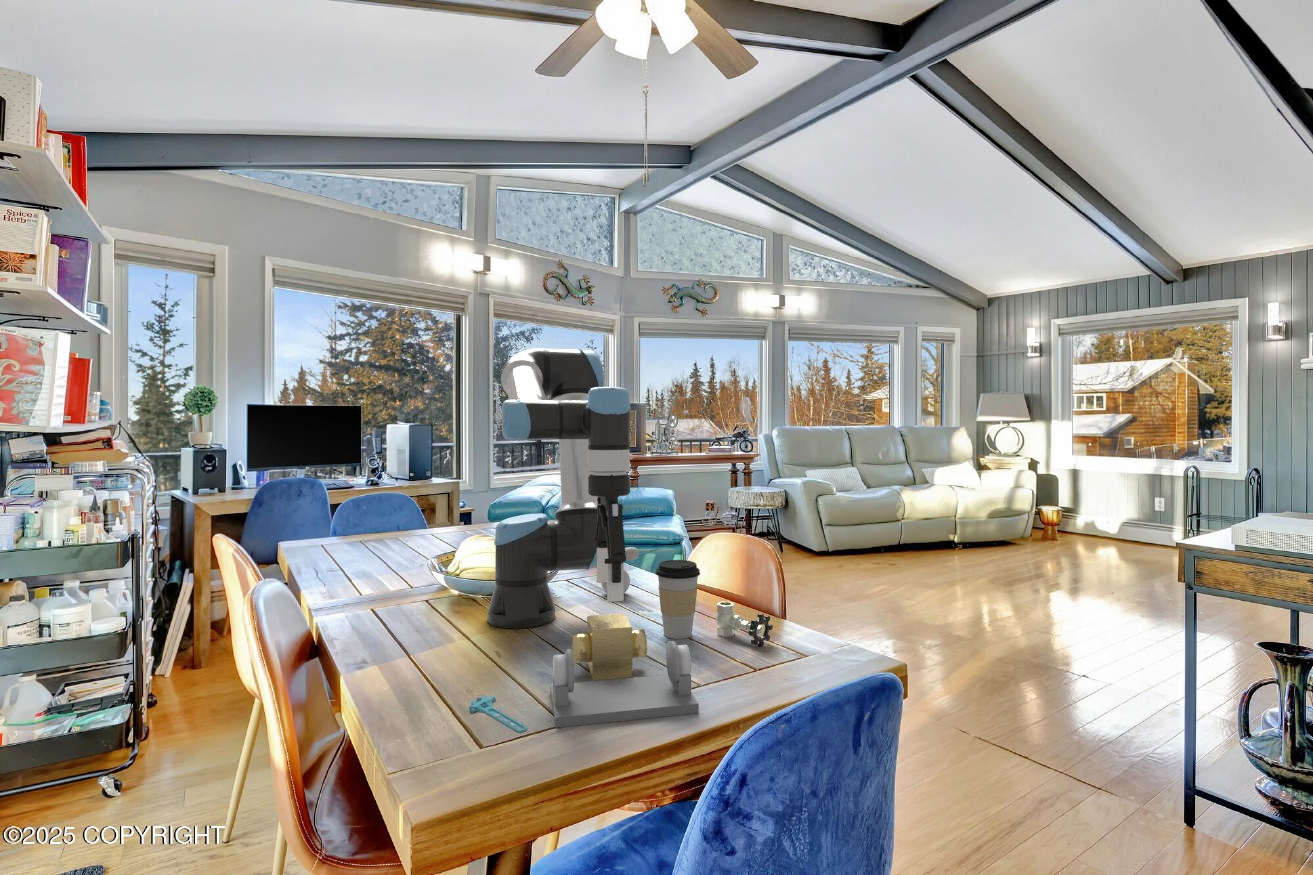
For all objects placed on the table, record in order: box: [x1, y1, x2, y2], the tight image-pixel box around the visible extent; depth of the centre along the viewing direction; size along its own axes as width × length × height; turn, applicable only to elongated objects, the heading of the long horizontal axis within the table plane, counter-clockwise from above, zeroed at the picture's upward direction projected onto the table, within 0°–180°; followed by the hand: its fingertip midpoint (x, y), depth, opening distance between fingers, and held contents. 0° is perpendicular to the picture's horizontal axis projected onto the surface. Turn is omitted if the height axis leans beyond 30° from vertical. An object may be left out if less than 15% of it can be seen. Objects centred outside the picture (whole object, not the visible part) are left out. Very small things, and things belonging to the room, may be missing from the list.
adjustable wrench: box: [468, 695, 528, 733], centre depth 99 cm, size 14×1×5 cm
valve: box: [715, 601, 774, 648], centre depth 134 cm, size 7×7×12 cm
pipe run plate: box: [550, 640, 700, 729], centre depth 103 cm, size 12×22×9 cm, turn 103°
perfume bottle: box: [601, 546, 640, 594], centre depth 168 cm, size 8×10×12 cm
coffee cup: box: [654, 559, 701, 640], centre depth 136 cm, size 9×9×15 cm
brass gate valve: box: [571, 613, 648, 681], centre depth 117 cm, size 8×13×9 cm, turn 103°
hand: (609, 590), depth 116 cm, fingers open, 13 cm apart
